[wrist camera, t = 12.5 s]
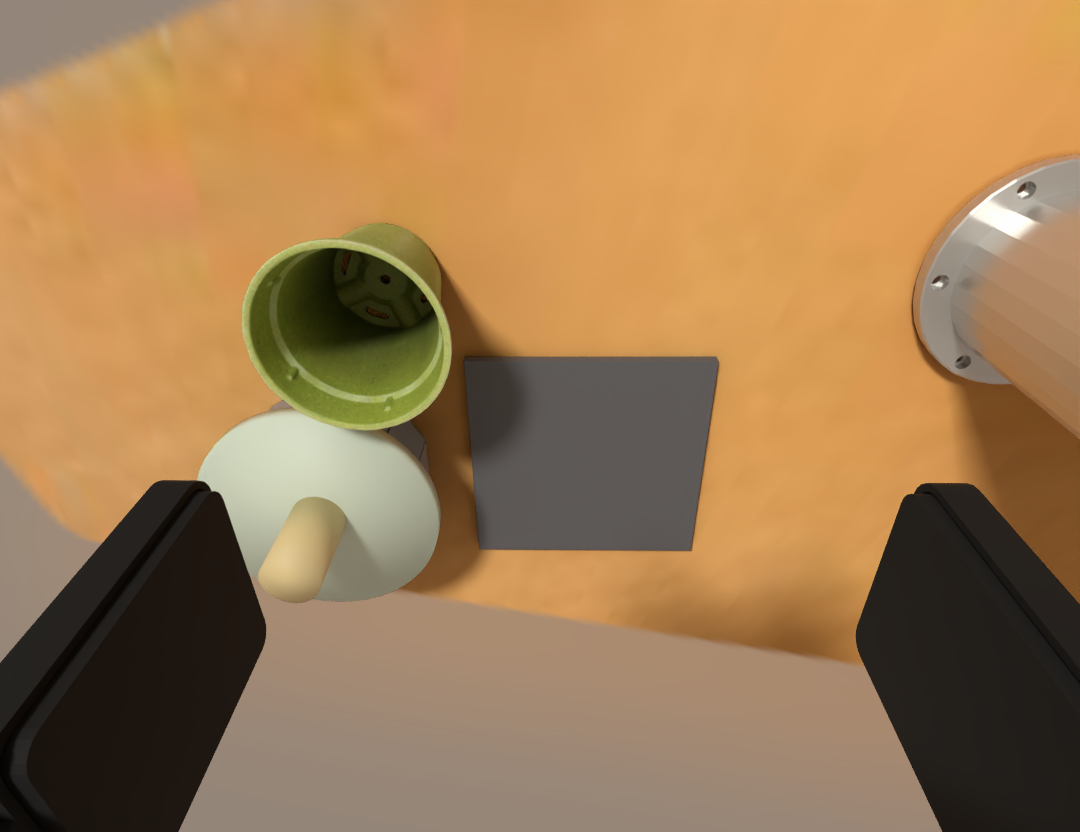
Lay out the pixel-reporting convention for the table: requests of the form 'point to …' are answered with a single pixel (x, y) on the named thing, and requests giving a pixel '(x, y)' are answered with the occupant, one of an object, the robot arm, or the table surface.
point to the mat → (588, 450)
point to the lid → (324, 506)
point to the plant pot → (351, 328)
